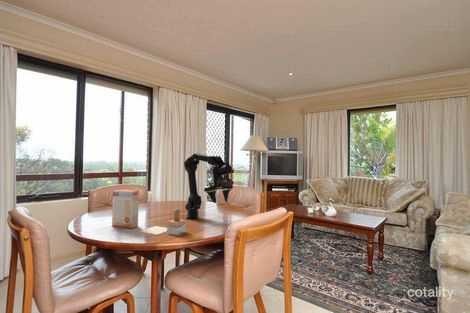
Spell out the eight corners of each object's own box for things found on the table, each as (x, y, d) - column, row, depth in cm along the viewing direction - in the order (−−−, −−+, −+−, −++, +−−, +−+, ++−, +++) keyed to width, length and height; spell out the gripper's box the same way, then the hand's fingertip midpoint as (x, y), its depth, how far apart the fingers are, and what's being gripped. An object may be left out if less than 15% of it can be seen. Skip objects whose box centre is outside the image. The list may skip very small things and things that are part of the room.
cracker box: (138, 226, 146) (139, 190, 146) (131, 228, 140) (132, 191, 140) (119, 223, 150) (120, 189, 151) (111, 226, 145) (112, 190, 145)
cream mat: (139, 232, 134) (139, 231, 134) (155, 226, 145) (155, 226, 145) (157, 235, 130) (157, 234, 130) (171, 229, 141) (172, 228, 141)
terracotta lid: (167, 225, 133) (168, 210, 133) (175, 222, 139) (175, 207, 139) (177, 227, 130) (178, 211, 130) (185, 224, 136) (185, 209, 136)
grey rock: (166, 233, 133) (167, 223, 133) (175, 230, 139) (175, 220, 139) (177, 235, 130) (178, 224, 130) (185, 231, 136) (185, 221, 136)
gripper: (214, 174, 139) (218, 203, 136) (237, 173, 152) (241, 199, 150) (202, 177, 146) (205, 204, 144) (225, 176, 160) (228, 201, 157)
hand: (220, 202), depth 149 cm, fingers open, 9 cm apart
